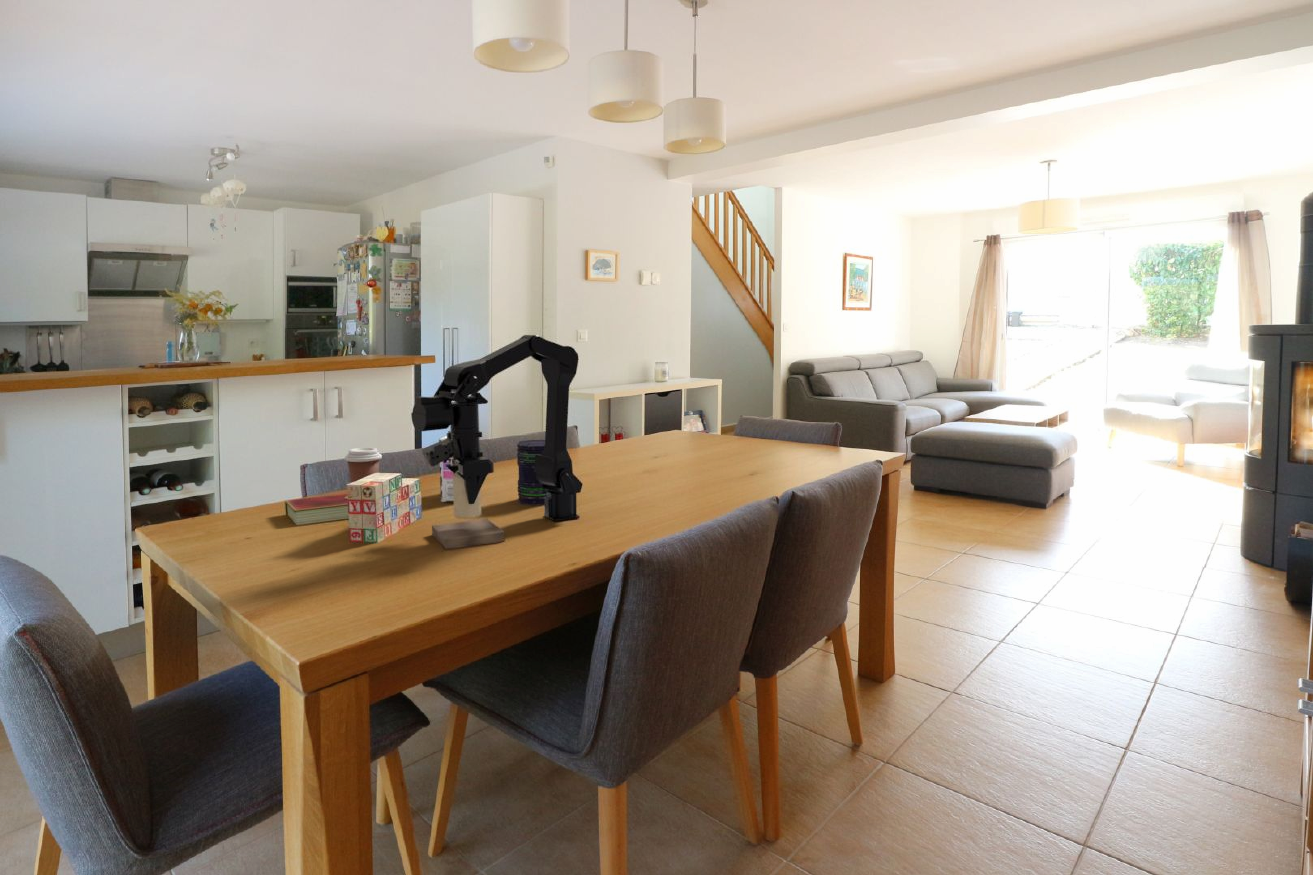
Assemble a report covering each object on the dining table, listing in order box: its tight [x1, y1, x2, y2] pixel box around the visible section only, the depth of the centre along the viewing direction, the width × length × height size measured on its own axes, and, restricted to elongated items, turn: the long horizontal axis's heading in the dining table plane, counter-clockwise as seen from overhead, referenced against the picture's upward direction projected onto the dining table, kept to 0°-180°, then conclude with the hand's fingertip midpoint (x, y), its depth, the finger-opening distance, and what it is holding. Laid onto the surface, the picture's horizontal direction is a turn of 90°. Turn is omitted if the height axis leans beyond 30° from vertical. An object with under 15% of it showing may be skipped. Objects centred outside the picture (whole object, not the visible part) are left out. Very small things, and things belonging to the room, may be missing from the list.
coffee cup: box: [344, 446, 383, 483], centre depth 197 cm, size 9×9×12 cm
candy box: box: [438, 435, 454, 503], centre depth 195 cm, size 14×6×16 cm, turn 179°
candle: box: [453, 470, 482, 519], centre depth 157 cm, size 6×6×10 cm
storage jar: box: [516, 439, 548, 506], centre depth 191 cm, size 10×10×15 cm
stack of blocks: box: [346, 472, 423, 544], centre depth 164 cm, size 21×6×12 cm, turn 173°
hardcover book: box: [284, 493, 349, 526], centre depth 178 cm, size 12×21×4 cm, turn 125°
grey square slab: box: [431, 518, 506, 550], centre depth 158 cm, size 12×12×2 cm
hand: (467, 501), depth 157 cm, fingers closed on candle, 5 cm apart
